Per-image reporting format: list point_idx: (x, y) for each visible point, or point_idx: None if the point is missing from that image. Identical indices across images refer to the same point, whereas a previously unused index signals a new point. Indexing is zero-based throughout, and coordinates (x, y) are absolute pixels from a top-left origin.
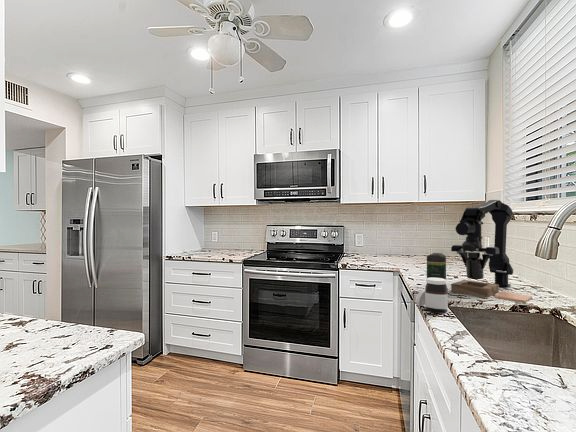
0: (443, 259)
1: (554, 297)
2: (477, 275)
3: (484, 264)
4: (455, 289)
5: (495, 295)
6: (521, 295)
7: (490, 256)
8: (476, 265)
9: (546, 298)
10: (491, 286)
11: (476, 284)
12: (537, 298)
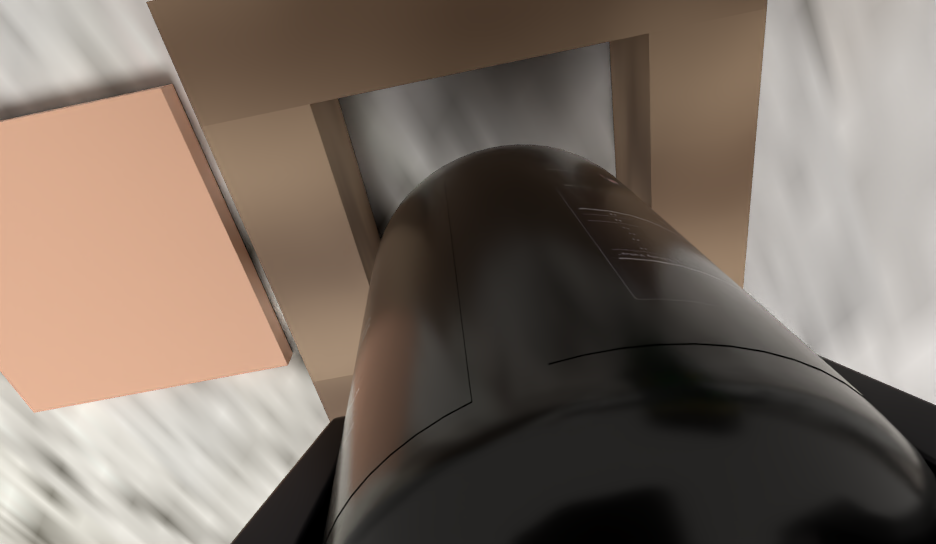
0: None
1: (29, 536)
2: (403, 213)
3: (256, 532)
4: None
5: (166, 118)
6: (85, 361)
7: None
8: (406, 342)
9: (9, 470)
10: (290, 273)
11: None
12: (25, 419)
